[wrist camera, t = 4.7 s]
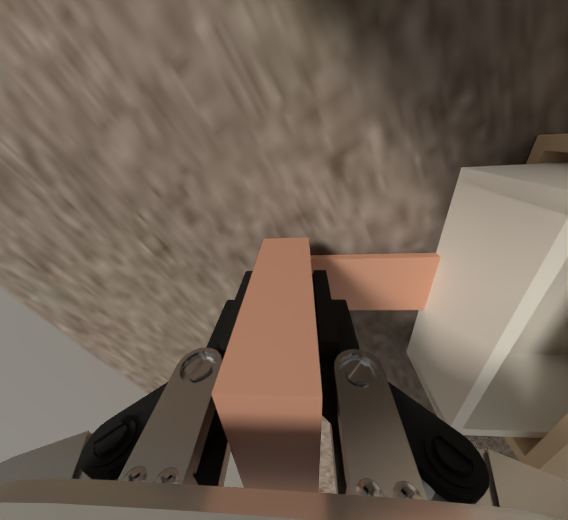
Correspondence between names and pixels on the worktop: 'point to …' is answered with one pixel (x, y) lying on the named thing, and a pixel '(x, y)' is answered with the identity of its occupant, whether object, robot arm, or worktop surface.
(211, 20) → the worktop surface
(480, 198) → the tray
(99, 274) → the worktop surface
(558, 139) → the sleeve
